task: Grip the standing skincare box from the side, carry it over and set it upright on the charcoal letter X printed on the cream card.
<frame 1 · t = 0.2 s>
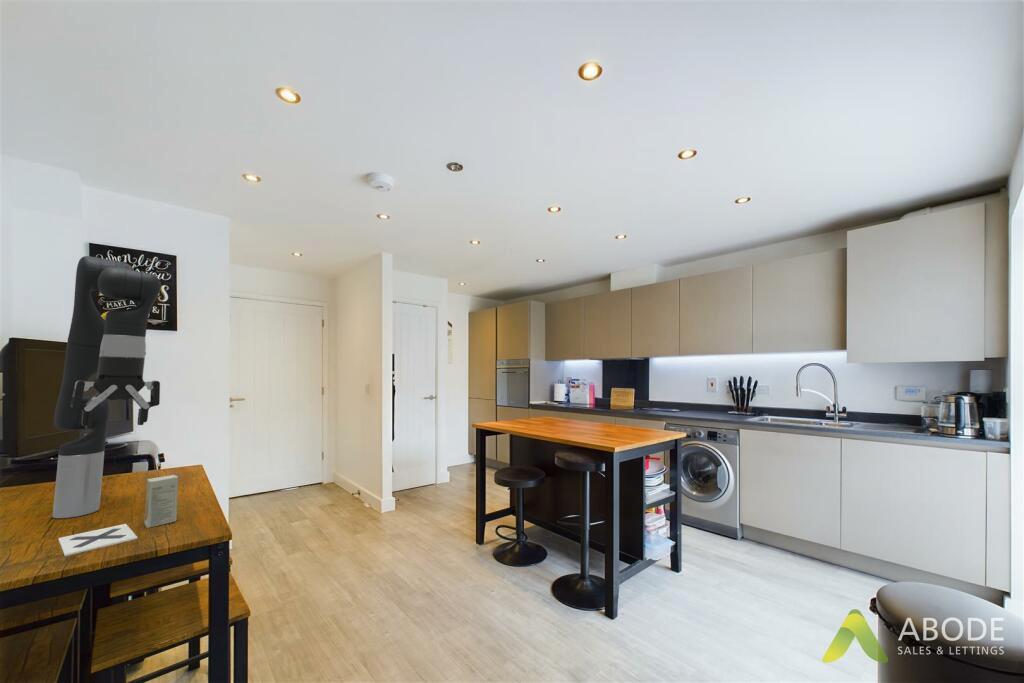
hand: (115, 426, 90), 29 cm above the table, tool pointing down, fingers open, 8 cm apart
letter card: (98, 539, 98), on the table
skincare box: (159, 524, 109), on the table
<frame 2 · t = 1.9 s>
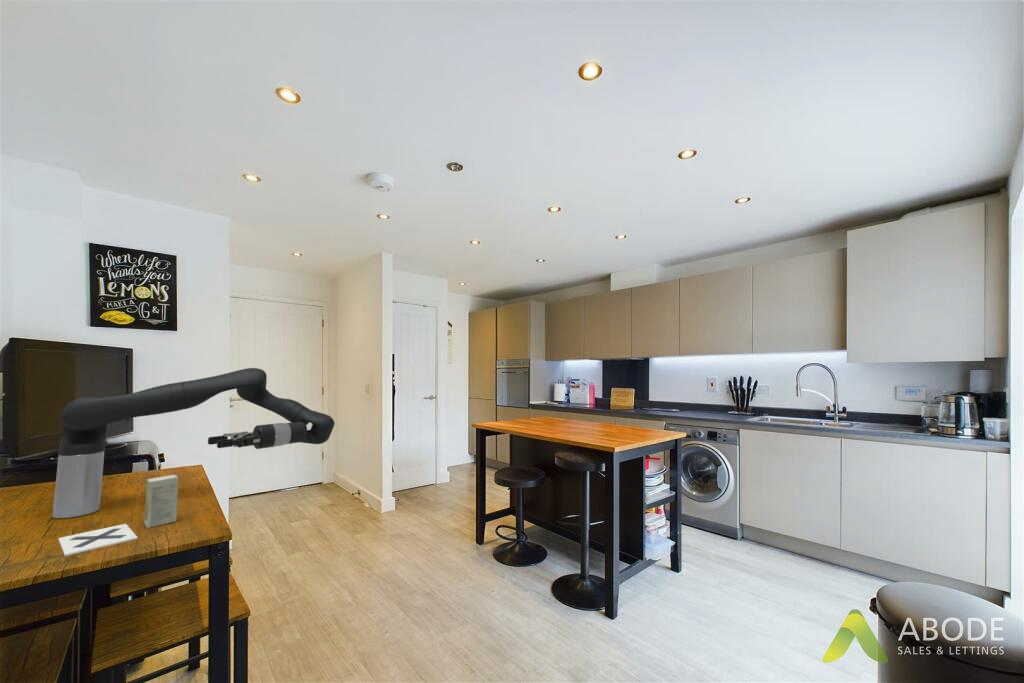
hand: (212, 442, 118), 20 cm above the table, tool horizontal, fingers open, 8 cm apart
nothing on the table moved.
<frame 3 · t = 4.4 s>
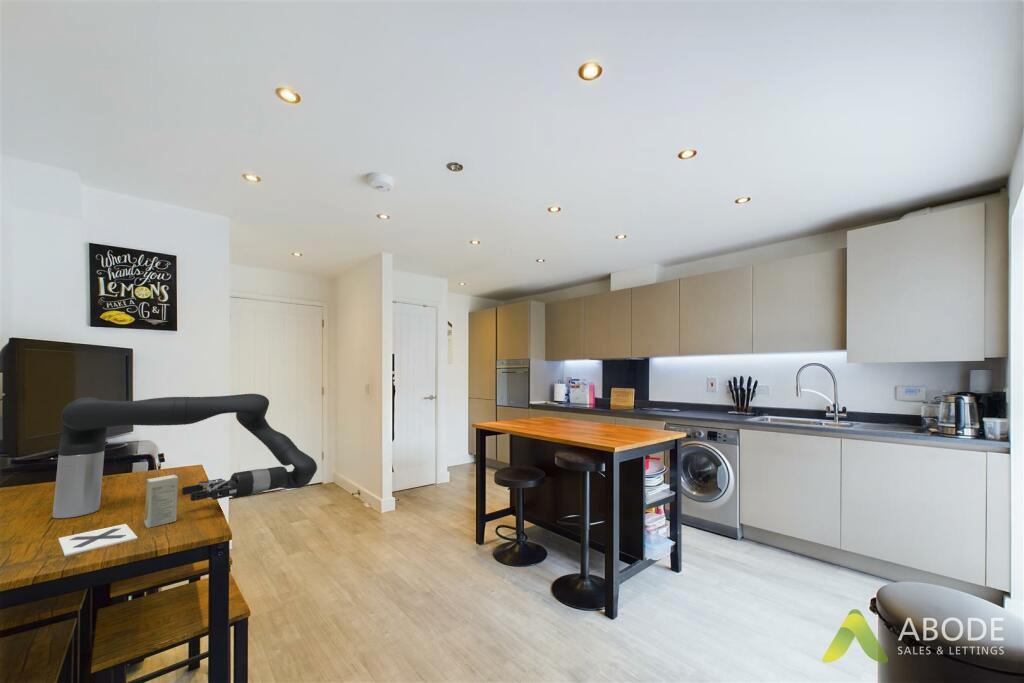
hand: (186, 494, 113), 6 cm above the table, tool horizontal, fingers open, 8 cm apart
nothing on the table moved.
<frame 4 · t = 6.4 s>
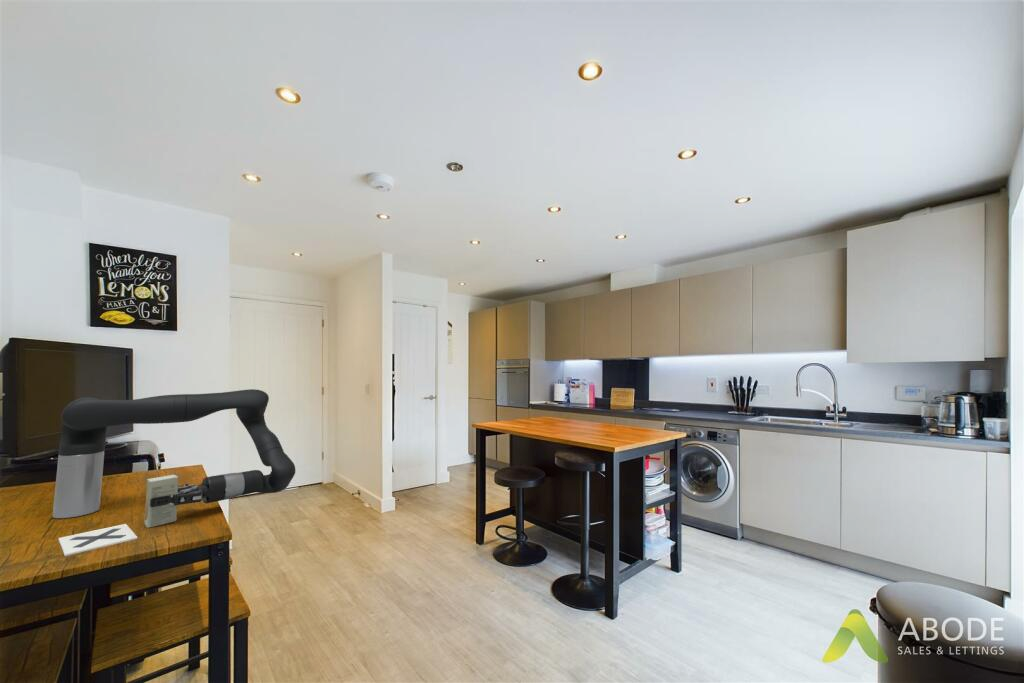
hand: (148, 501, 107), 7 cm above the table, tool horizontal, fingers closed on skincare box, 4 cm apart
skincare box: (159, 523, 109), on the table, touching gripper
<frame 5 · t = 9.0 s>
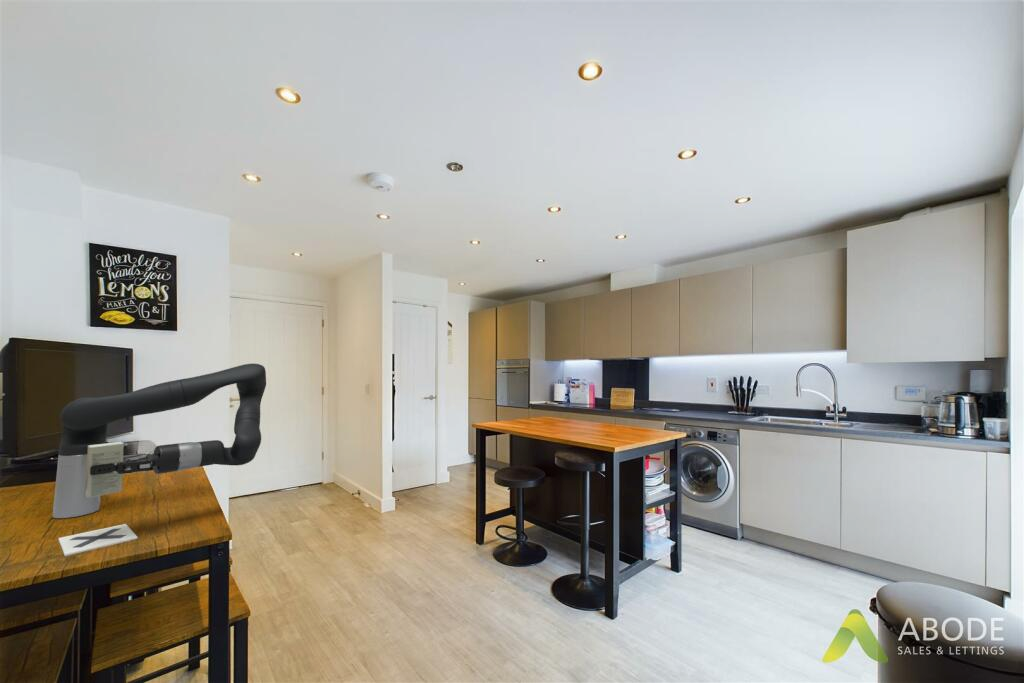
hand: (89, 469, 97), 17 cm above the table, tool horizontal, fingers closed on skincare box, 4 cm apart
skincare box: (102, 494, 99), point 11 cm above the table, touching gripper
when the fingers open (8 cm above the table, at t = 11.4 s): skincare box drops 1 cm, resting on letter card.
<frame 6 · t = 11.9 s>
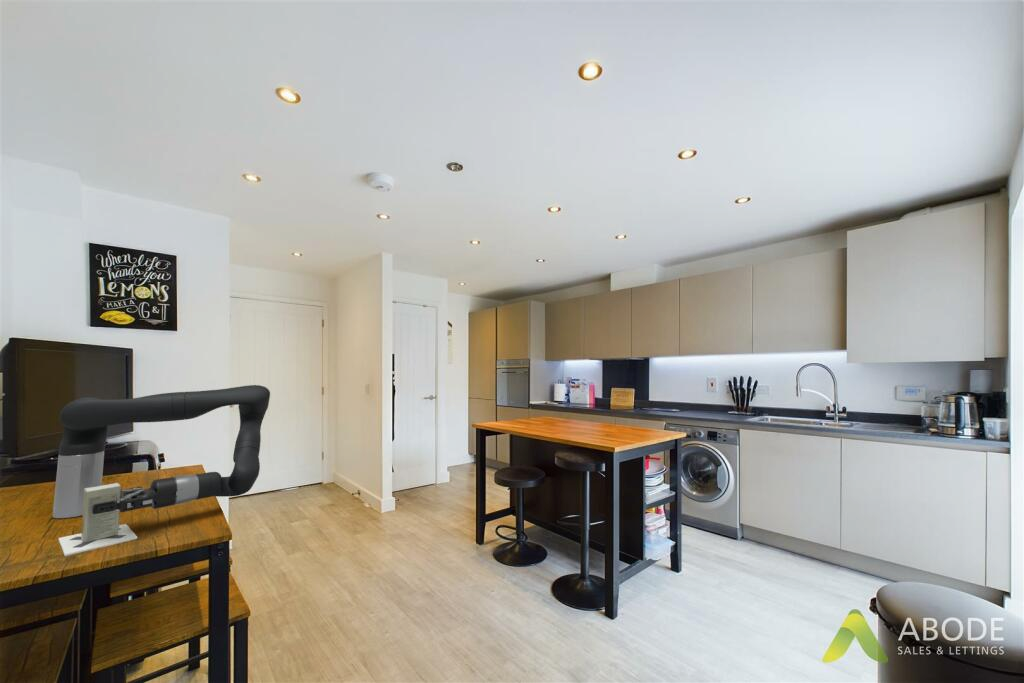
hand: (90, 505, 97), 9 cm above the table, tool horizontal, fingers open, 8 cm apart
skincare box: (98, 537, 98), resting on letter card
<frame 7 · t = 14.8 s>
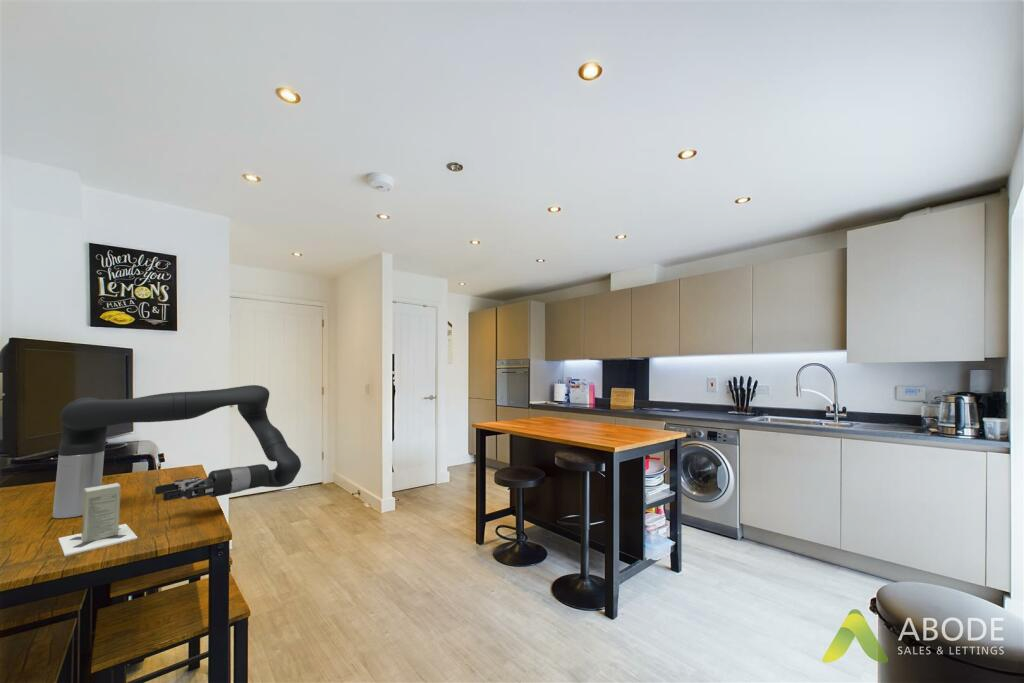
hand: (159, 493, 107), 9 cm above the table, tool horizontal, fingers open, 8 cm apart
nothing on the table moved.
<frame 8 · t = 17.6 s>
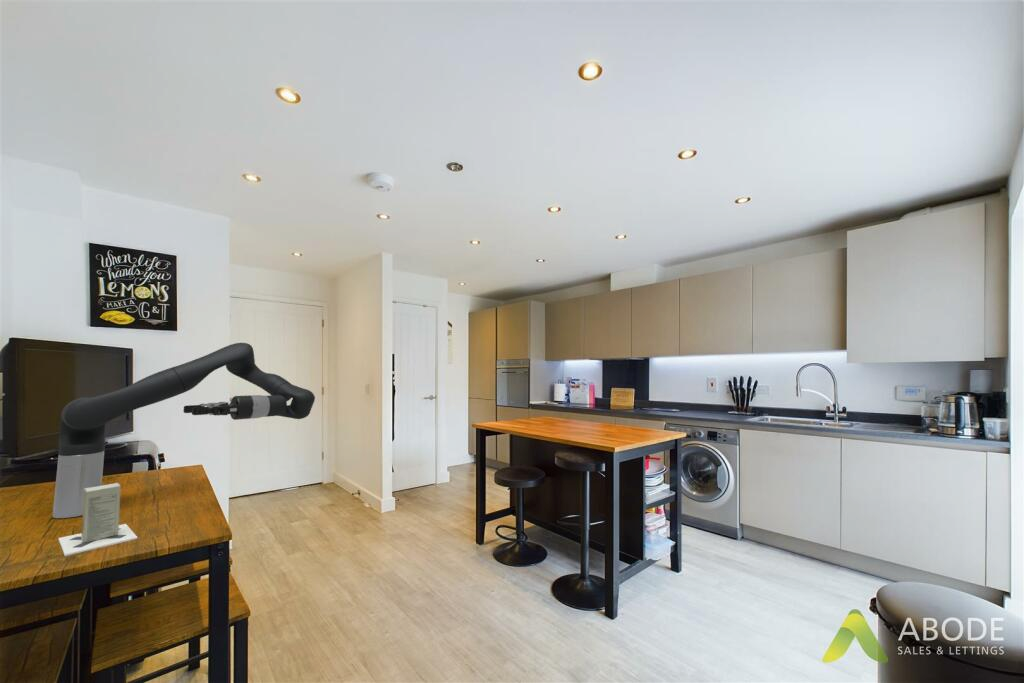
hand: (188, 410, 117), 30 cm above the table, tool horizontal, fingers open, 8 cm apart
nothing on the table moved.
at the end: skincare box 0.1 cm off-centre on the letter card, point 0.3 cm above the letter card's base; skincare box tilted 0°; the gripper is holding nothing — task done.
